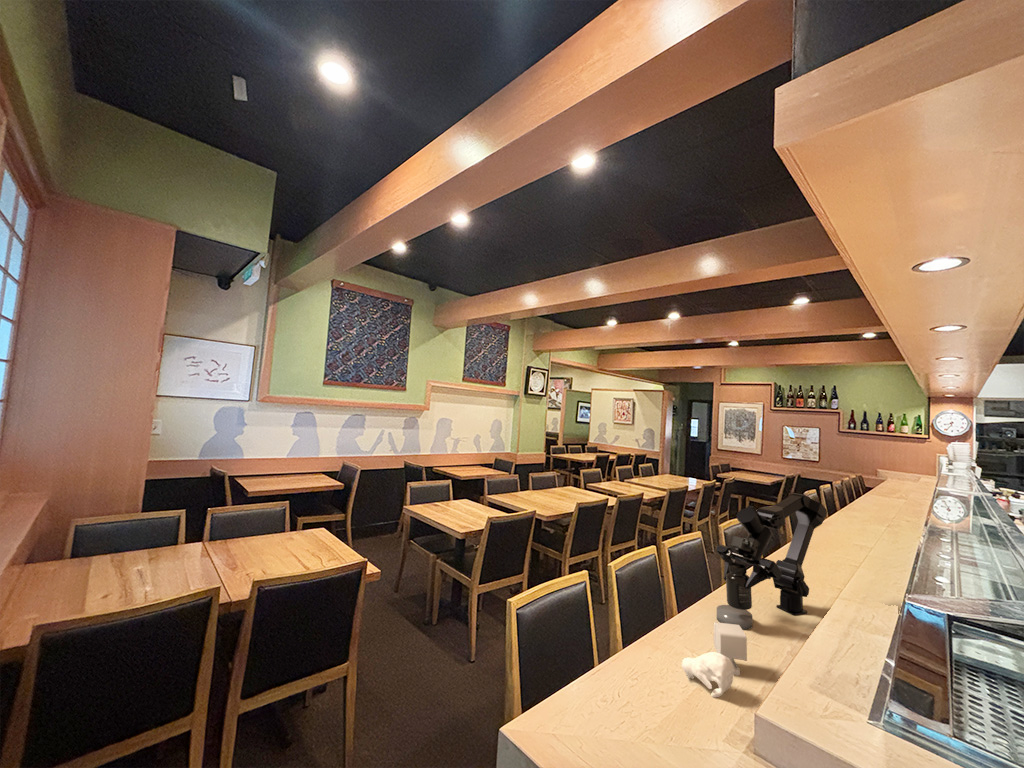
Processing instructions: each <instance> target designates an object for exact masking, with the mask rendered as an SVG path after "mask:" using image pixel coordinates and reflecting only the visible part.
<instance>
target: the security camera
mask: <svg viewBox="0 0 1024 768" xmlns="http://www.w3.org/2000/svg"><path fill="white" fill-rule="evenodd" d="M747 641H748V638H747V635H746V633H745V630H742V628H741V627H740V625H736V624H727V623H720V622H719V621H717V622H716V621H714V622H713V646H714V649H715V652H717V653H720V654H722V655H724V656H726V657H727V658H729V659H730V660H731V662H732V664H733V667H734V670H735V671H734V674H733V676H737V677H738V676H741V669H740V668H739V667H738V664H737V663H736V661H735V660H740V661H745V662H747V661H748V644H747Z"/></svg>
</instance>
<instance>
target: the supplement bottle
mask: <svg viewBox="0 0 1024 768" xmlns="http://www.w3.org/2000/svg"><path fill="white" fill-rule="evenodd" d="M729 571H730V572H728V573H727V574H726V581H725V586H726V589H725V590H726V603H727V605H730V606H731V607H733V608H736V609H741V610H747V611H749V610H751V609H752V607H753V600H752V599H753V598H752V596H753V595H752V587H751V588H749V589H746V588H745V586H746V583H747V581H748V579H749V577H750V576H749V575H748V574H747V573H748V572H747V571H748V570H747V566H746V565H745V564H742V563H739V562H737V563H736V562H734V563H730V564H729Z"/></svg>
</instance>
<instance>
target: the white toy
mask: <svg viewBox="0 0 1024 768" xmlns="http://www.w3.org/2000/svg"><path fill="white" fill-rule="evenodd" d="M681 669H682V670H683V671H684V673H685V675H686V677H687V680H693V679H695V677H696V678H697V680H698V679H699V681H700V682H702V683H703V685H704V686H705V687H707V689H709V690H712V689H713V685H712V683H711V682H713V681H714V682H715V683H717V685H718V686H717V687H718V688H717V687H716V688H714V689H713V691H712V692H711V694H710V695H711V696H710V697H713V698H715V699H716V698H719V697H721V696H722V695H723V694H725V692H726V691H728V690H729V689H730V688H731V686H732V684H733V681H734V680H733V679H734V675H733V674H734V671H735V670H734V667H733V664H732V662H731V660H730V659H729V658H727V657H726V656H724V655H722V654H720V653H717V651H709V652H707V653H706V652H705V653H703V654H700V655H698V656H697V657H694V658H693V657H689V656H688V657H685V658H683V659H682V662H681Z"/></svg>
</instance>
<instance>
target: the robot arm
mask: <svg viewBox="0 0 1024 768" xmlns="http://www.w3.org/2000/svg"><path fill="white" fill-rule="evenodd" d="M794 513H795V516H796V520H797V524H796V527H795V530H794V532H793V536H792V538H791V541H790V544H789V547H788V550H787V553H786V555H785V558H784V559H782V560H780V559H777V561H775V560H770V559H767V558H765V557H763V556H766V555H767V551H766V548H767V546H768V545H769V543H770V541H774V542H775V536H774V533H773V531H771V530H770V529H773V530H779V529H781V528H782V527H783V526H784V525H785V524H786V518H788V517H789V516H791V515H793V514H794ZM827 514H828V511H827V508H826V507H825V506H824V505H823V504H822V503H820V502H819V501H816V500H814V499H813V498H811V497H809V496H807V494H803V493H795V492H793V493H790V494H789V496H787V497H785V498H784V499H782V500H781V501H779V502H777V503H776V504H774V505H770V506H768V505H767V506H765V505H764V506H762V507H758V508H757V509H756V508H755V506H752V505H747V507H745V508H742V509H740V510H739V511H738V512H737V513H736V514H735V515H736V517H735V518H736V520H737V521H738V523H740V525H741V526H742V528H743V529H744V530H745V532H747V533H748V535H747V536H746V537H739V536H736V535H732V536H731V539H730V543H729V546H727V545H723V544H718V545H717V546H716V547H715V552H716V553H717V555H718V556H719V557H720V559H722V560H723V561H724V572H723V580H724V581H725V582H726V574H727V573H728V572H730V571H729V564H730V563H736V561H738V562H741V563H744V564H746V565H750V566H752V571H751V574H750V576H749V579H748V581H747V583H746V586H745V588H746V589H749V588H751V589H752V588H753V587H755V586H756V585H758V584H760V583H761V582H764V581H765V580H771V579H772V581H773V582H772V583H773V585H774V588H775V589H778V590H780V592H779V593H780V595H779V604H776V606H775V607H776V608H777V609H780V610H782V611H784V612H786V613H788V614H791V615H793V616H797V615H803V614H808V610H805V609H804V600H803V599H804V598H807V597H808V596H809V593H810V588H809V586H808V584H807V583H806V581H805V578H806V577H805V574H804V571H803V568H802V566H803V563H804V561H805V558H806V554H807V551H808V549H809V547H810V546H809V545H810V543H811V540H812V537H813V534H814V531H815V529H816V528H818V527H820V526H821V525H822V524H823V523H824V520H825V518H826V517H827ZM730 546H731V547H734V548H735V551H736V552H737V553H735V552H734V551H733V549H732V548H731V547H730Z"/></svg>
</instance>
